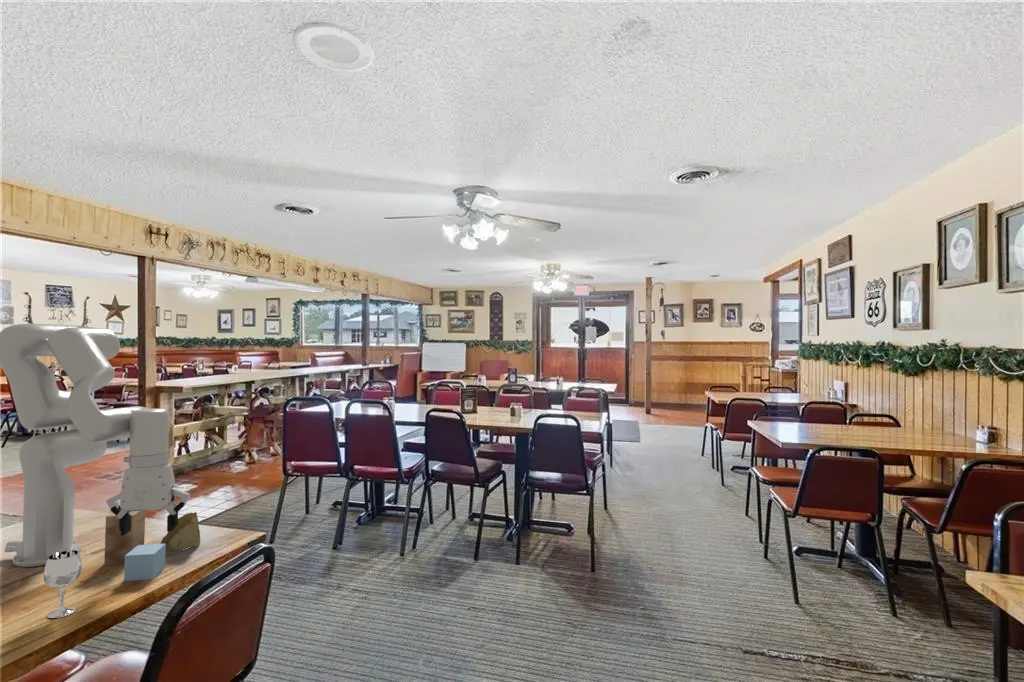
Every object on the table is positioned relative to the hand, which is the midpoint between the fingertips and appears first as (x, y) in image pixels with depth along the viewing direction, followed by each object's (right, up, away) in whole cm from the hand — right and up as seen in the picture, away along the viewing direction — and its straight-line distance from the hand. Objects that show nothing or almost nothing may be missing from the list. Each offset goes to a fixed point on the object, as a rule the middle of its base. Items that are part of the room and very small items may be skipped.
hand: (149, 531), depth 118 cm
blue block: (-1, -10, 0) cm, 10 cm away
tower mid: (-12, -4, +8) cm, 15 cm away
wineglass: (-5, -10, -17) cm, 21 cm away
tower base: (-12, -10, +8) cm, 18 cm away
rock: (-2, -11, +14) cm, 18 cm away
